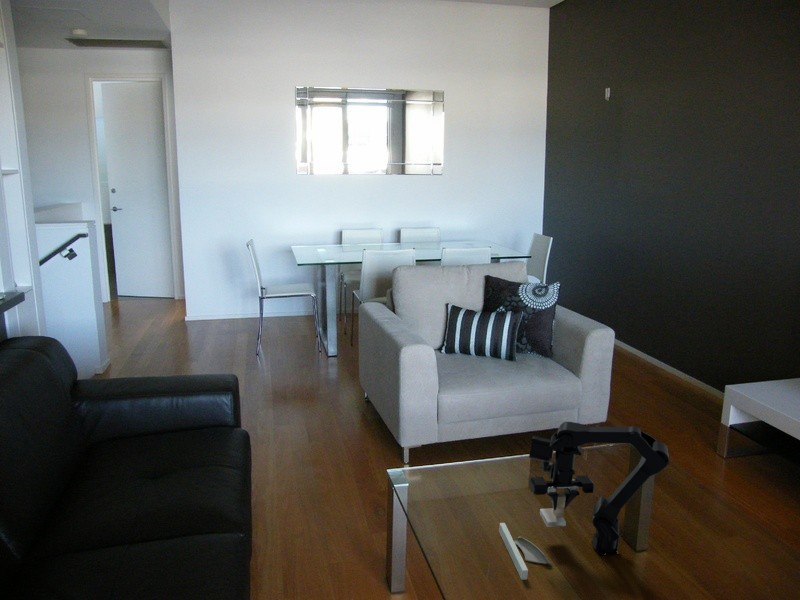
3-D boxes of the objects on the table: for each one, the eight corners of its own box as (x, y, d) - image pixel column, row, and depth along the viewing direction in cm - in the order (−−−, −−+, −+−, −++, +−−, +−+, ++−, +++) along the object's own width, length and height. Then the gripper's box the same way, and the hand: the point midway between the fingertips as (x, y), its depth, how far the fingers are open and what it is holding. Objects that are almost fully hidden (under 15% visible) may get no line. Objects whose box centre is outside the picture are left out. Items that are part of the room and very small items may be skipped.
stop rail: (503, 531, 205) (504, 522, 204) (527, 579, 184) (528, 570, 183) (498, 531, 205) (499, 523, 204) (521, 579, 184) (522, 570, 183)
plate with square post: (557, 512, 205) (560, 488, 203) (565, 526, 198) (568, 501, 196) (539, 513, 204) (542, 488, 202) (547, 526, 198) (549, 501, 195)
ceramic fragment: (552, 567, 190) (553, 555, 189) (540, 573, 187) (541, 561, 186) (517, 541, 201) (518, 530, 200) (505, 547, 198) (506, 536, 197)
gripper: (583, 449, 205) (578, 493, 209) (525, 451, 203) (521, 495, 207) (598, 468, 195) (591, 514, 199) (537, 470, 192) (532, 516, 197)
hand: (558, 509), depth 201 cm, fingers closed on plate with square post, 2 cm apart
